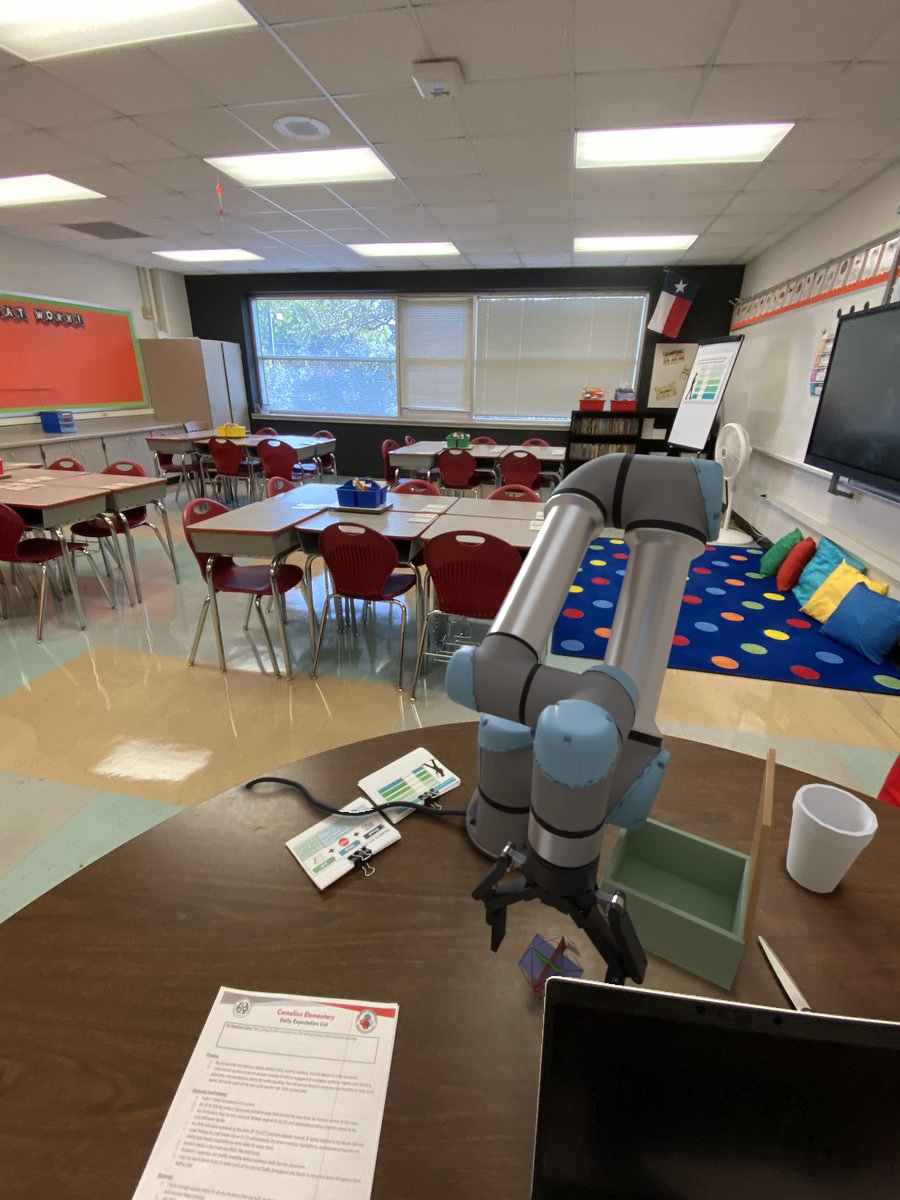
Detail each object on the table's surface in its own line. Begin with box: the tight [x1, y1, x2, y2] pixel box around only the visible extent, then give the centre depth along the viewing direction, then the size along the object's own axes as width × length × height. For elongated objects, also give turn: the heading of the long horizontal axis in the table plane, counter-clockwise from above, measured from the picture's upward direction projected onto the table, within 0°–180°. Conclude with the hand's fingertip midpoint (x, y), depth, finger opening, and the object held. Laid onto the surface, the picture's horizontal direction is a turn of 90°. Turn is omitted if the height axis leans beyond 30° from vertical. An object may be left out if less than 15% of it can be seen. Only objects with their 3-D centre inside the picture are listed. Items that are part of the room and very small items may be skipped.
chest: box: [598, 817, 751, 992], centre depth 73 cm, size 17×14×9 cm
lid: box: [743, 747, 777, 944], centre depth 64 cm, size 17×14×1 cm
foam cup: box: [786, 782, 879, 894], centre depth 77 cm, size 10×9×13 cm
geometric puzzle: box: [517, 932, 585, 1001], centre depth 65 cm, size 7×7×8 cm
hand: (549, 970), depth 65 cm, fingers open, 13 cm apart
